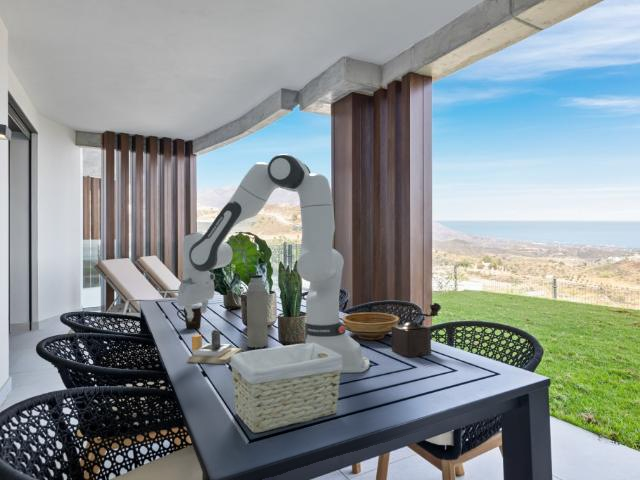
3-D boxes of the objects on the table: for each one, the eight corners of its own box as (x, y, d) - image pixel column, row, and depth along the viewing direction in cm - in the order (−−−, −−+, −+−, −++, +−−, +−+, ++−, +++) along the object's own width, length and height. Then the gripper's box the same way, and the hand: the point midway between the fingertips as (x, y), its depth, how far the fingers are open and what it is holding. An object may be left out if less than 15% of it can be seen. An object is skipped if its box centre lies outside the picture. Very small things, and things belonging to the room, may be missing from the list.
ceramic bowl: (326, 334, 181) (326, 316, 181) (367, 326, 196) (366, 309, 195) (375, 348, 157) (374, 327, 157) (416, 338, 172) (416, 318, 172)
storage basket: (314, 393, 114) (313, 339, 113) (346, 415, 99) (345, 354, 99) (229, 412, 102) (227, 353, 102) (251, 440, 88) (249, 371, 88)
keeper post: (242, 352, 155) (241, 325, 155) (225, 363, 141) (225, 334, 141) (207, 350, 158) (207, 324, 158) (188, 361, 144) (187, 333, 144)
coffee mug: (206, 326, 200) (206, 306, 200) (192, 330, 193) (191, 309, 193) (190, 324, 207) (189, 304, 207) (175, 328, 199) (175, 307, 199)
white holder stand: (231, 349, 154) (231, 333, 153) (219, 357, 144) (218, 340, 144) (200, 348, 156) (200, 332, 156) (186, 355, 146) (186, 338, 146)
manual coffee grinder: (410, 358, 143) (409, 307, 143) (390, 351, 153) (390, 302, 153) (444, 352, 150) (443, 303, 150) (423, 345, 160) (422, 299, 160)
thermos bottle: (265, 341, 170) (263, 273, 170) (270, 346, 163) (268, 275, 163) (245, 343, 167) (244, 274, 167) (250, 348, 160) (248, 276, 160)
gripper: (189, 280, 140) (190, 320, 140) (216, 274, 160) (217, 310, 160) (172, 280, 141) (173, 320, 141) (201, 274, 161) (202, 310, 161)
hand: (197, 315), depth 151 cm, fingers open, 8 cm apart
